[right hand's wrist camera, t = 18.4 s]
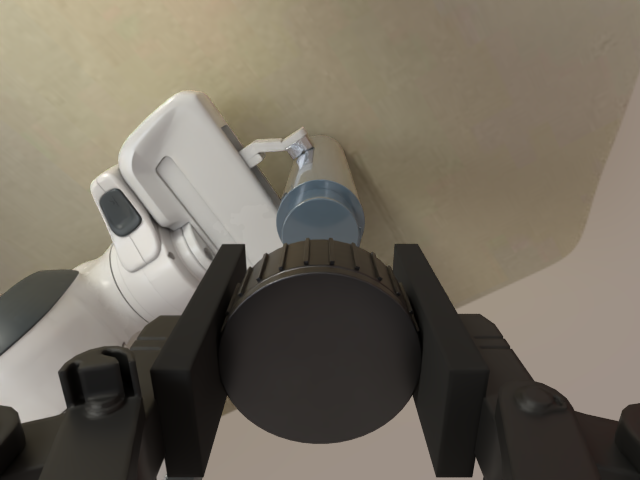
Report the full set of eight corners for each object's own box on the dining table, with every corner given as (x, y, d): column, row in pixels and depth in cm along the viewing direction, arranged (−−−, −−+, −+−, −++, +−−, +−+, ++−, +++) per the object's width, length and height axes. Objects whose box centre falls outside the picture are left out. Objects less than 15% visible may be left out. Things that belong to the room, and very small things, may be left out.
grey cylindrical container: (297, 186, 39) (276, 282, 21) (293, 136, 38) (267, 192, 19) (346, 183, 39) (370, 277, 21) (344, 133, 38) (367, 185, 19)
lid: (444, 324, 13) (468, 371, 11) (313, 418, 14) (312, 476, 12) (327, 197, 11) (329, 224, 9) (193, 313, 12) (169, 359, 10)
